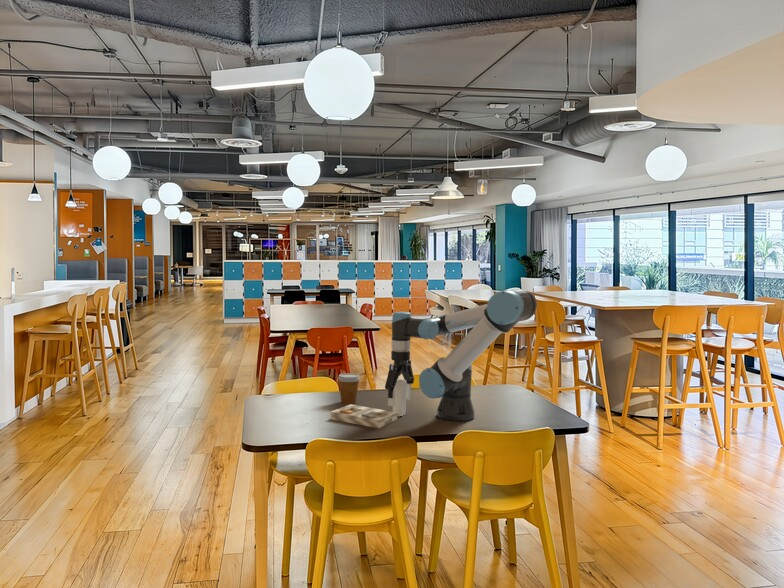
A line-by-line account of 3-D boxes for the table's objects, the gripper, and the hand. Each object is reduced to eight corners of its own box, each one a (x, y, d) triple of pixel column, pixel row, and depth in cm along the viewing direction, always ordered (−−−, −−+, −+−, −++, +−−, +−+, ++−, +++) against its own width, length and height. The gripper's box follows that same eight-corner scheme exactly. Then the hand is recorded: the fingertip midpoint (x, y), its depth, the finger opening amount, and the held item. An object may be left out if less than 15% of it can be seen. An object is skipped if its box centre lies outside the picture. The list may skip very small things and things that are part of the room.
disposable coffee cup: (362, 401, 272) (362, 374, 271) (355, 406, 263) (355, 378, 262) (342, 399, 275) (342, 372, 274) (334, 404, 266) (334, 376, 265)
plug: (405, 414, 252) (406, 380, 251) (401, 416, 248) (401, 382, 247) (397, 413, 253) (398, 379, 252) (392, 415, 250) (393, 380, 249)
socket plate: (397, 419, 243) (397, 410, 243) (378, 428, 231) (379, 418, 231) (350, 411, 254) (350, 402, 254) (330, 419, 242) (330, 409, 242)
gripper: (407, 345, 262) (405, 395, 263) (376, 353, 240) (375, 407, 242) (423, 347, 258) (421, 397, 259) (393, 355, 236) (392, 410, 238)
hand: (399, 402), depth 250 cm, fingers open, 13 cm apart
